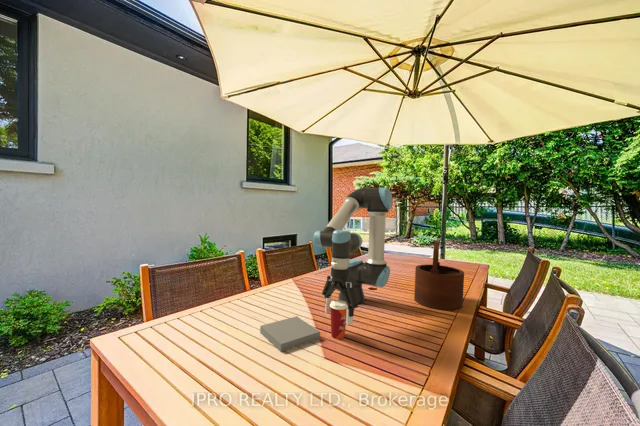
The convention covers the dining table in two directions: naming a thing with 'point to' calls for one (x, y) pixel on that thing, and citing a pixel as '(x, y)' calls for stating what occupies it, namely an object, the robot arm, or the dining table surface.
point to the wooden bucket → (439, 285)
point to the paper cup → (338, 318)
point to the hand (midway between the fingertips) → (338, 318)
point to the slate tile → (289, 333)
